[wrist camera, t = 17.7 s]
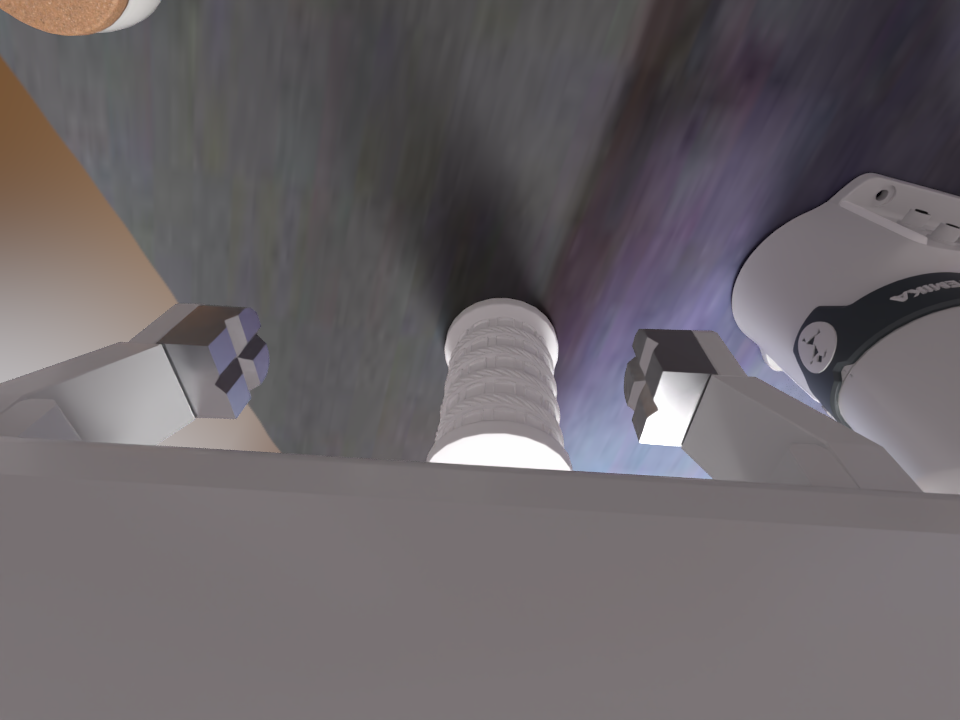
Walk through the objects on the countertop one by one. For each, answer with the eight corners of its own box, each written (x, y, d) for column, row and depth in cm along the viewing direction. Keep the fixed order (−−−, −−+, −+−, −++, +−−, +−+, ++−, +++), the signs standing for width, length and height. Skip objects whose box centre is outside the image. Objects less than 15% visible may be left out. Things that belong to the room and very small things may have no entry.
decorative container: (548, 394, 51) (563, 540, 36) (444, 385, 51) (418, 527, 36) (566, 302, 44) (595, 437, 29) (447, 292, 44) (416, 421, 29)
